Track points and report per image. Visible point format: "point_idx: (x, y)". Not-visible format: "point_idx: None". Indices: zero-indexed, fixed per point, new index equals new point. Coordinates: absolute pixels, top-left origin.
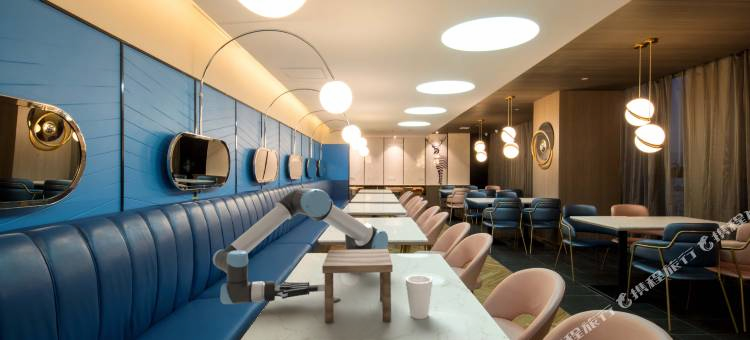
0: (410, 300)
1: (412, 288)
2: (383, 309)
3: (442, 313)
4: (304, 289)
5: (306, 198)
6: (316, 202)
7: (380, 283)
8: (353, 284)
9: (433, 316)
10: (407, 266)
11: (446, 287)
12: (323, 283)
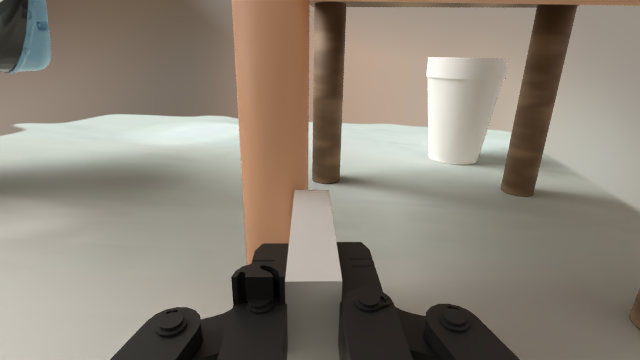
0: (481, 118)
1: (502, 76)
2: (540, 154)
3: None
4: (501, 354)
5: None
6: None
7: (333, 120)
8: (78, 214)
9: None
10: (56, 132)
11: None
12: (302, 198)
